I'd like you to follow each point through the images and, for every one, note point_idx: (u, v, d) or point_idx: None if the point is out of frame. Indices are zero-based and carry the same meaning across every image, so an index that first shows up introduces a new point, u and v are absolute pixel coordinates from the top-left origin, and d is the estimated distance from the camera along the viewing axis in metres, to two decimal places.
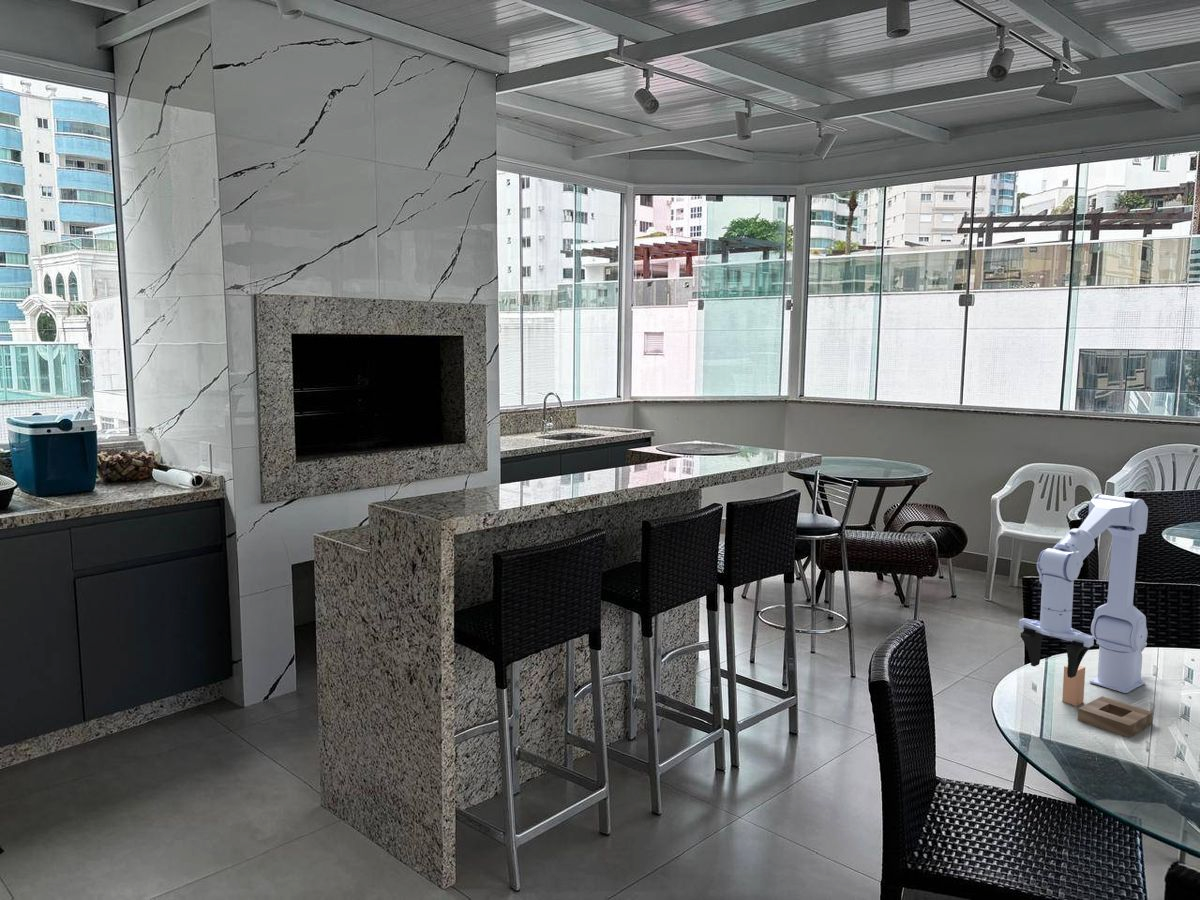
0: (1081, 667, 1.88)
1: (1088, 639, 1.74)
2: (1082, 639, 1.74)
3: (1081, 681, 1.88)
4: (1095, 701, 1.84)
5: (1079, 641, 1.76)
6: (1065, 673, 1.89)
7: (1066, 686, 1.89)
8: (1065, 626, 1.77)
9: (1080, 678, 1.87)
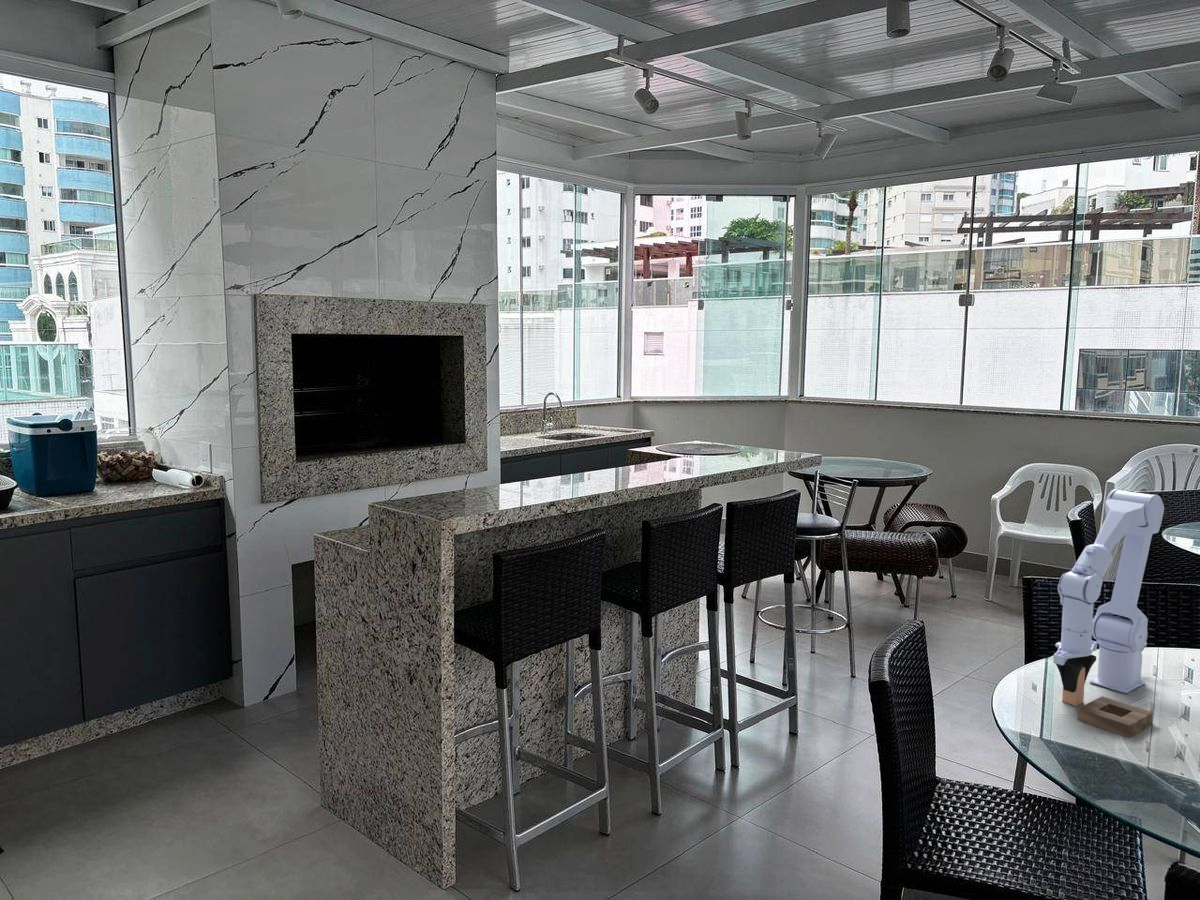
0: None
1: (1054, 655, 1.85)
2: None
3: (1081, 681, 1.88)
4: (1095, 701, 1.84)
5: None
6: None
7: None
8: (1064, 642, 1.87)
9: (1080, 678, 1.87)
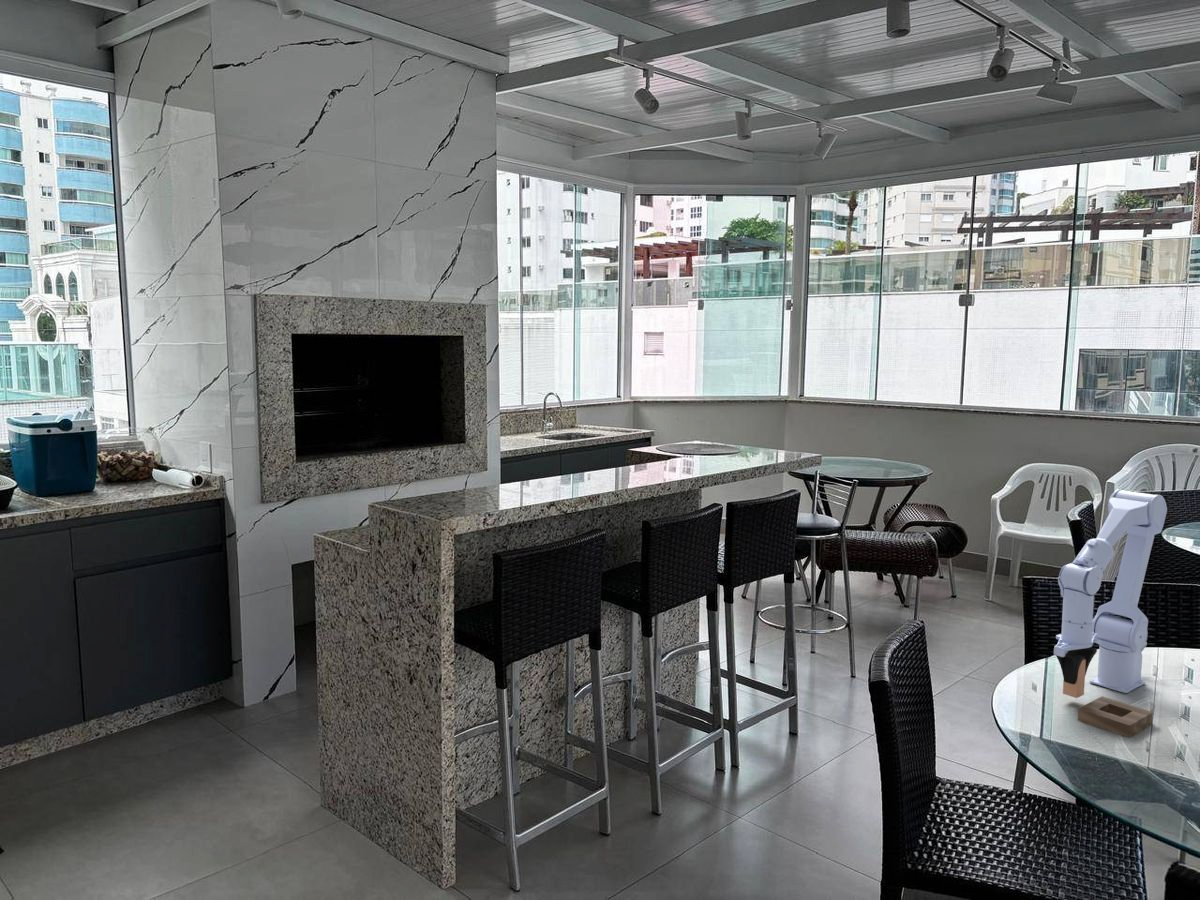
0: None
1: (1054, 647, 1.84)
2: None
3: (1082, 673, 1.87)
4: (1095, 701, 1.84)
5: None
6: None
7: None
8: (1064, 634, 1.87)
9: (1081, 670, 1.87)
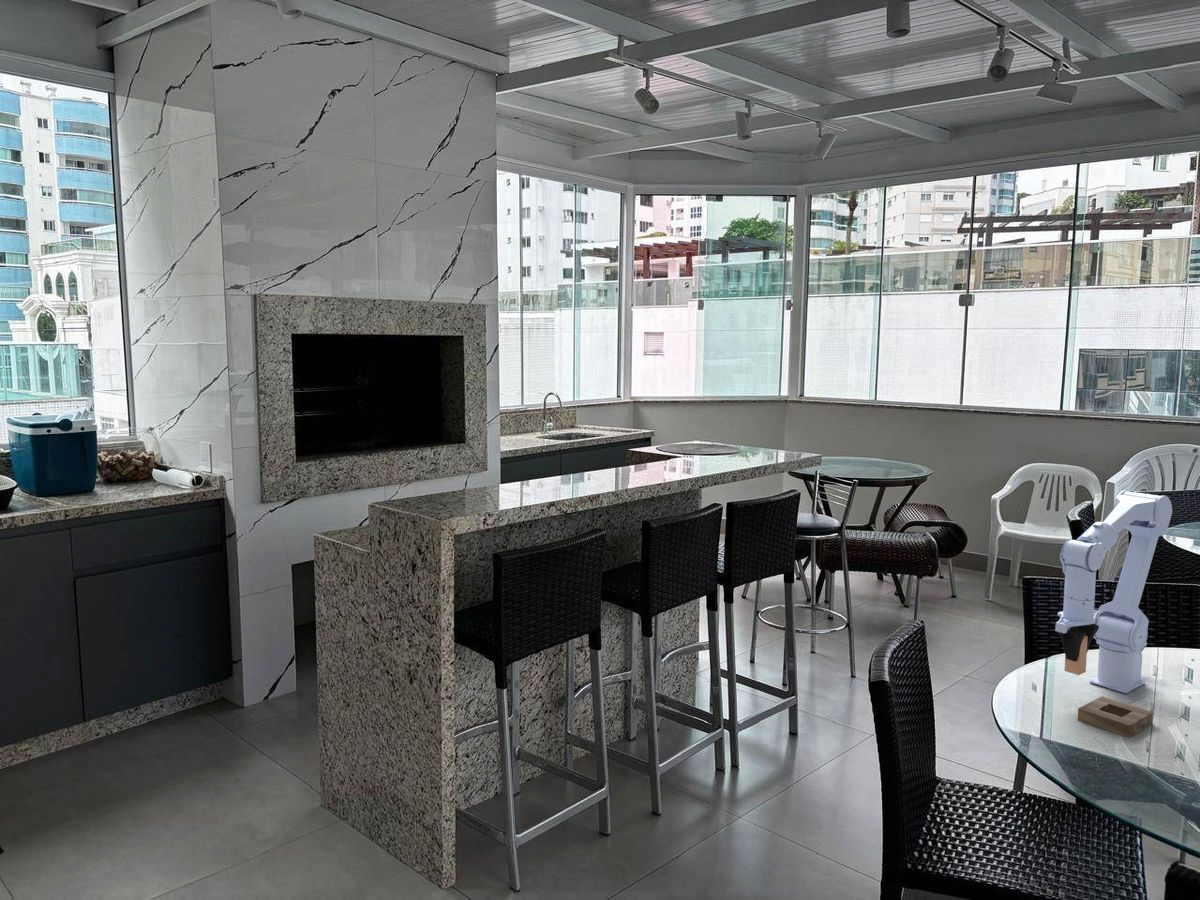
0: None
1: (1056, 623, 1.84)
2: None
3: (1083, 650, 1.87)
4: (1095, 701, 1.84)
5: None
6: None
7: None
8: (1066, 611, 1.86)
9: (1082, 647, 1.86)
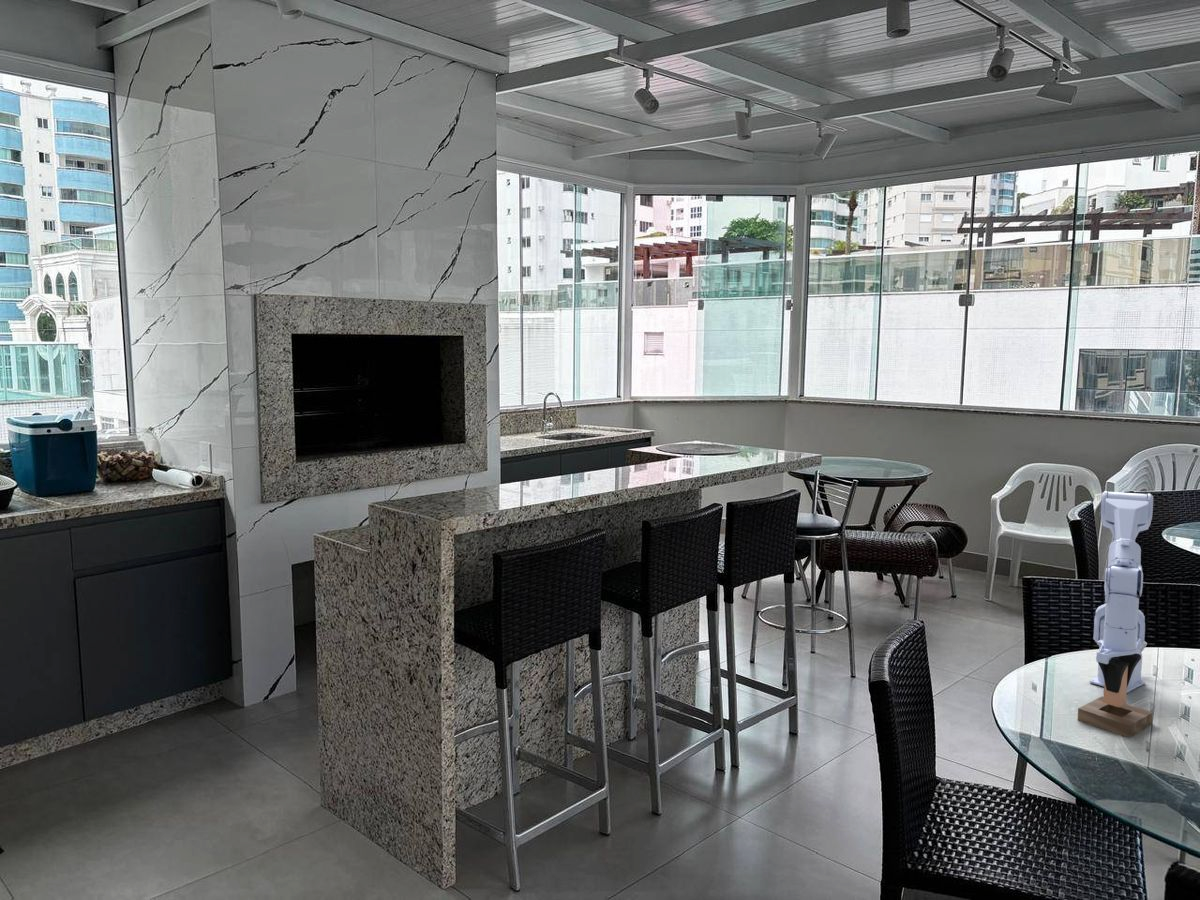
0: None
1: (1097, 653, 1.74)
2: None
3: (1124, 681, 1.78)
4: (1095, 701, 1.84)
5: None
6: None
7: None
8: (1107, 640, 1.77)
9: (1123, 678, 1.77)
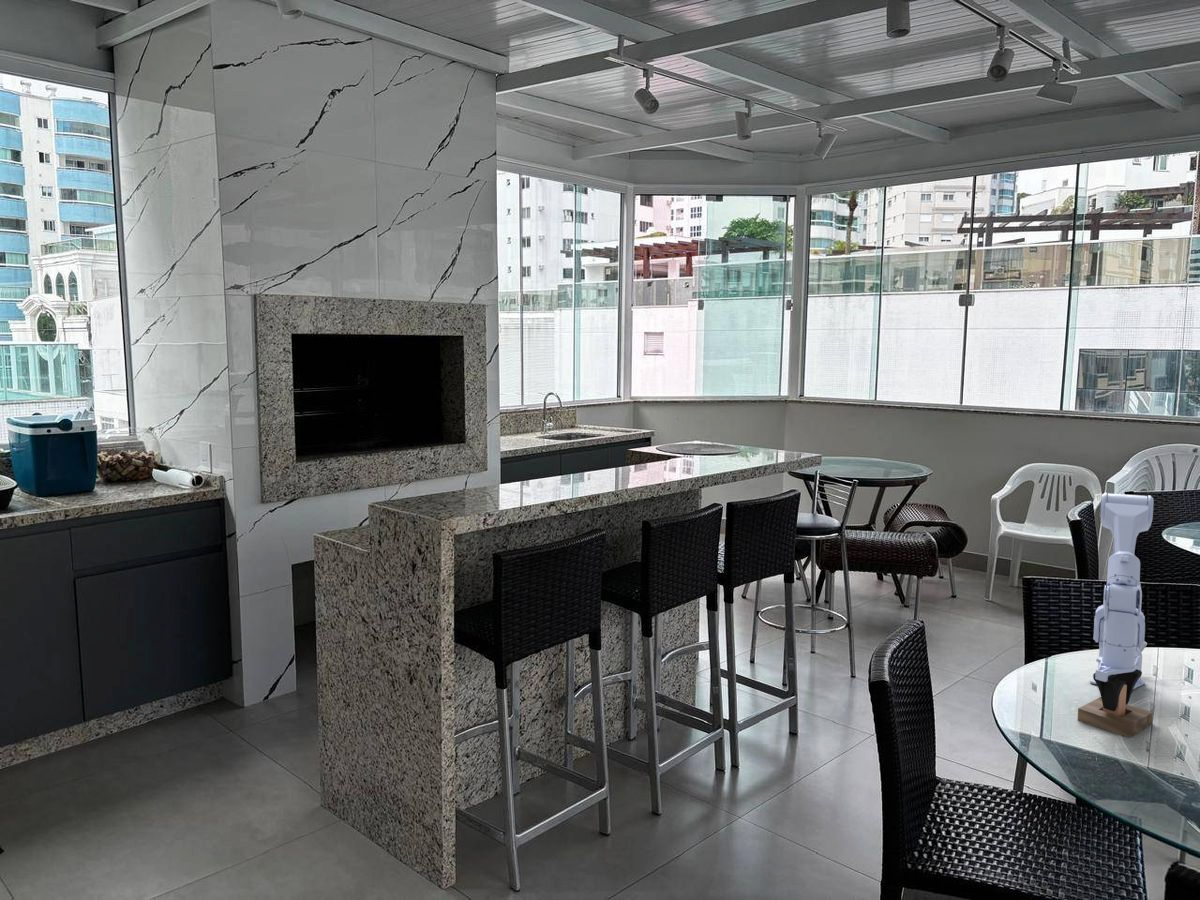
0: None
1: (1096, 671, 1.75)
2: None
3: (1122, 699, 1.78)
4: (1095, 701, 1.84)
5: None
6: None
7: None
8: (1106, 657, 1.77)
9: (1121, 696, 1.78)
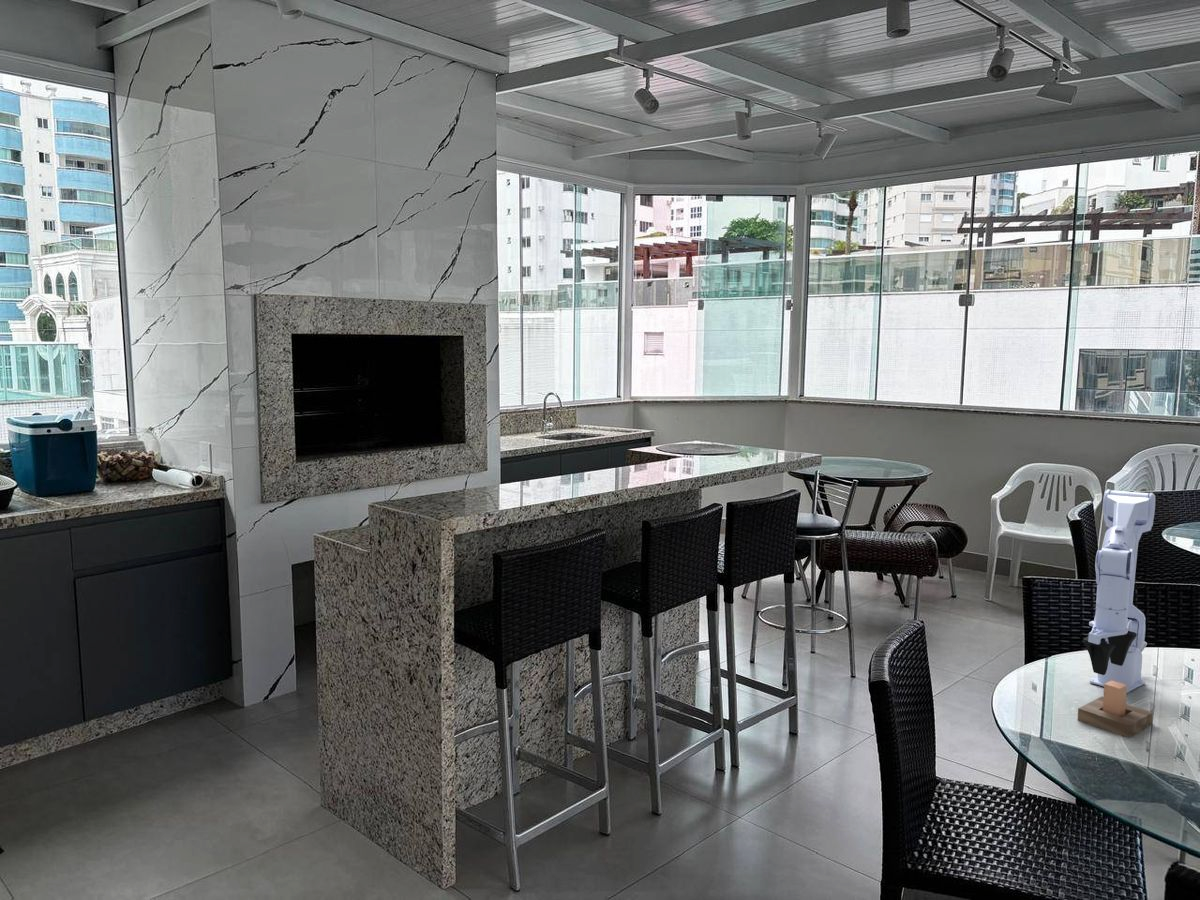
0: (1123, 685, 1.78)
1: (1089, 634, 1.78)
2: None
3: (1122, 700, 1.78)
4: (1095, 701, 1.84)
5: None
6: (1105, 691, 1.79)
7: (1106, 704, 1.79)
8: (1098, 621, 1.80)
9: (1121, 696, 1.78)
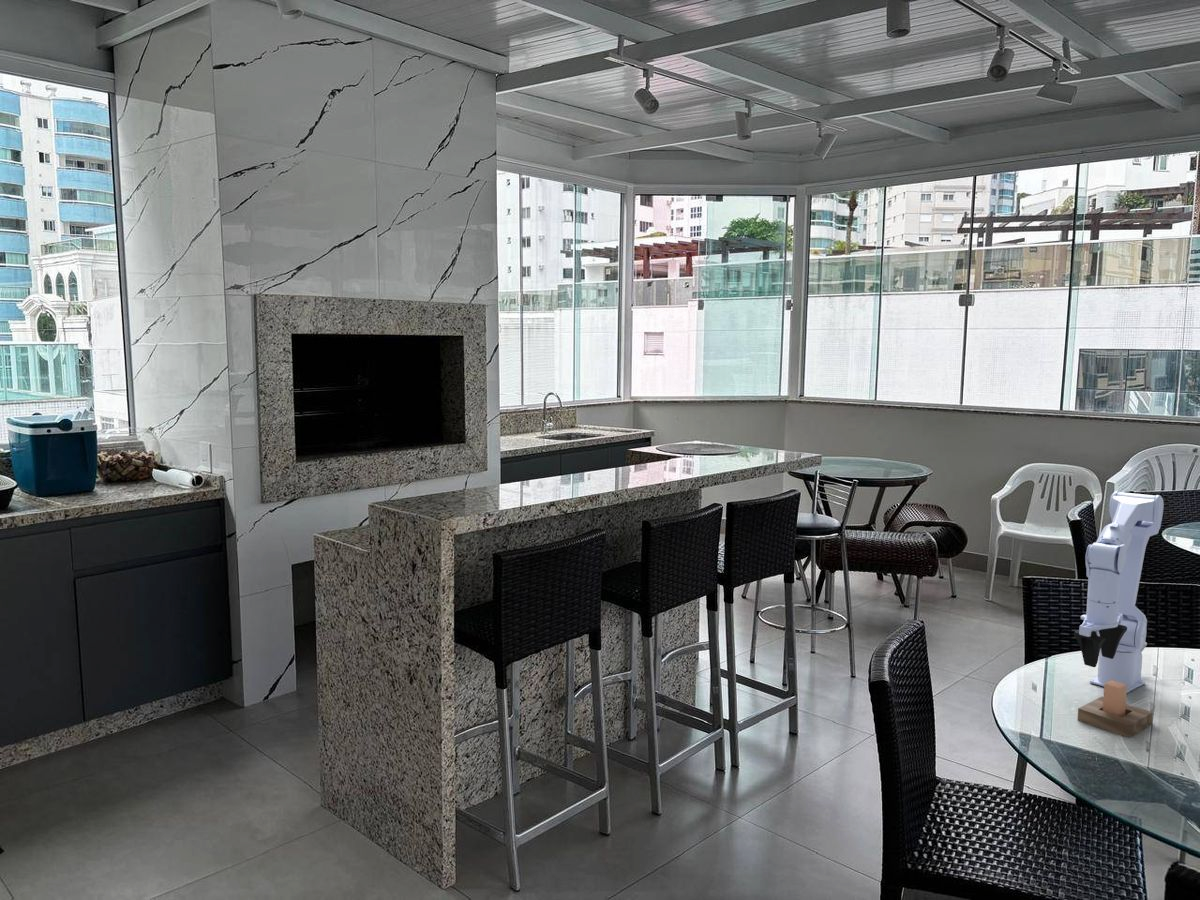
0: (1123, 685, 1.78)
1: None
2: None
3: (1122, 700, 1.78)
4: (1095, 701, 1.84)
5: None
6: (1105, 691, 1.79)
7: (1106, 704, 1.79)
8: (1089, 614, 1.84)
9: (1121, 696, 1.78)
